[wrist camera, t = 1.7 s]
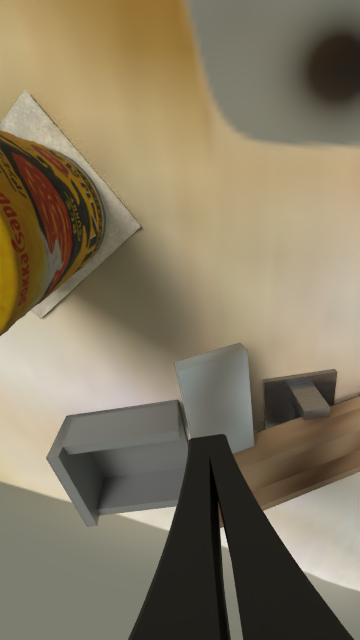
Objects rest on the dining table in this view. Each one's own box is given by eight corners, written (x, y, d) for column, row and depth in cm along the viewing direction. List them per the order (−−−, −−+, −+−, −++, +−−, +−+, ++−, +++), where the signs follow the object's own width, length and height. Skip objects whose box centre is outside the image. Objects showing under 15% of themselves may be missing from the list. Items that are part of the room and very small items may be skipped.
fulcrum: (334, 369, 18) (359, 397, 16) (326, 450, 22) (345, 483, 20) (262, 379, 19) (276, 409, 16) (266, 457, 22) (277, 491, 20)
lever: (432, 285, 16) (484, 298, 14) (395, 428, 21) (428, 454, 19) (174, 362, 13) (186, 392, 11) (205, 502, 18) (218, 541, 16)
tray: (177, 399, 19) (177, 440, 16) (193, 469, 23) (196, 513, 20) (66, 416, 20) (45, 458, 17) (98, 481, 23) (86, 526, 20)
